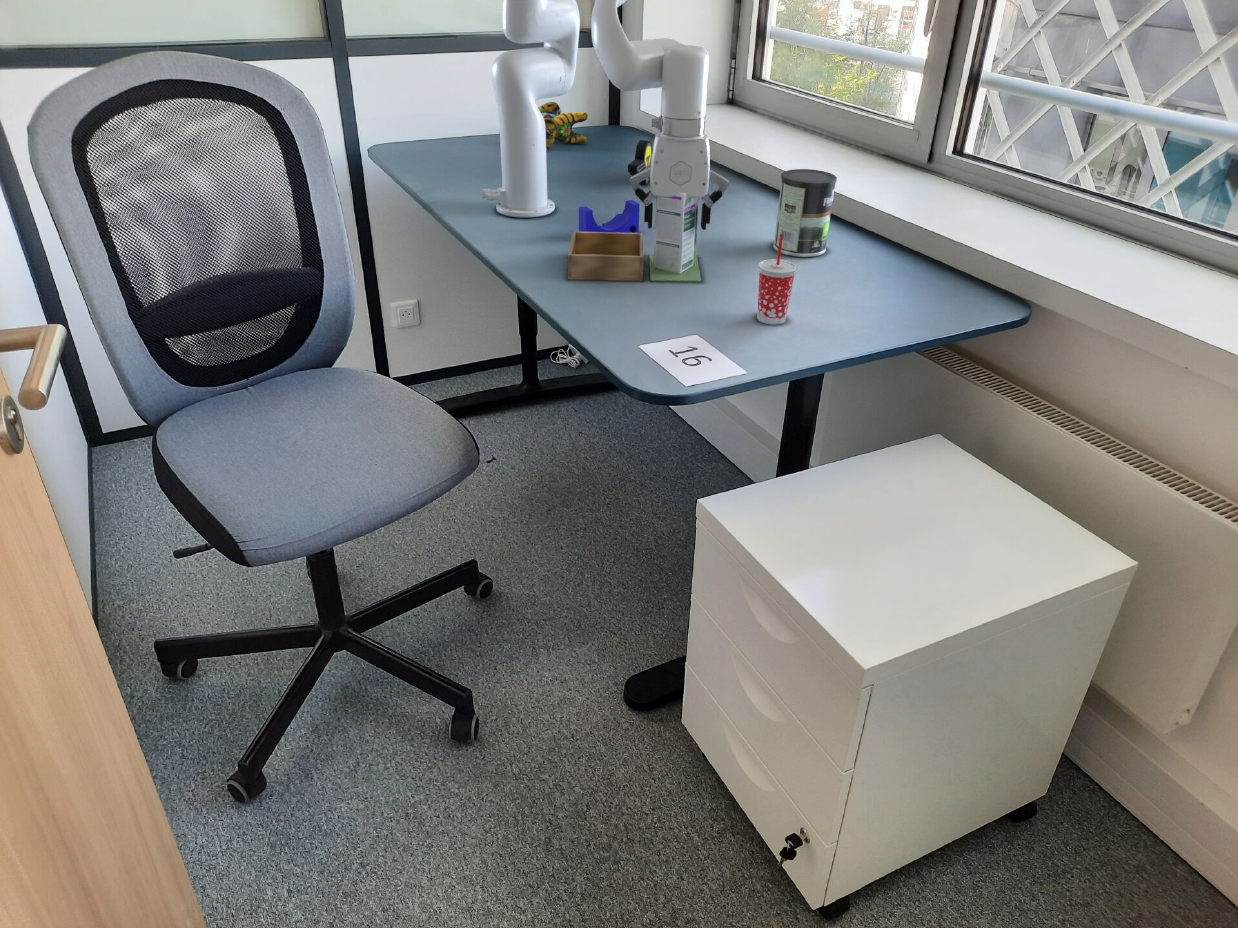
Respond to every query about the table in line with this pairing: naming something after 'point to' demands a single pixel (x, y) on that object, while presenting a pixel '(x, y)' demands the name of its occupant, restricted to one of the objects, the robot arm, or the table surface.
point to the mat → (685, 276)
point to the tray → (606, 256)
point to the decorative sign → (641, 159)
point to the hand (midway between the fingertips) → (676, 226)
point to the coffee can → (804, 212)
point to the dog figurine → (561, 124)
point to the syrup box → (675, 233)
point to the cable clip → (618, 224)
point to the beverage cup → (775, 288)
